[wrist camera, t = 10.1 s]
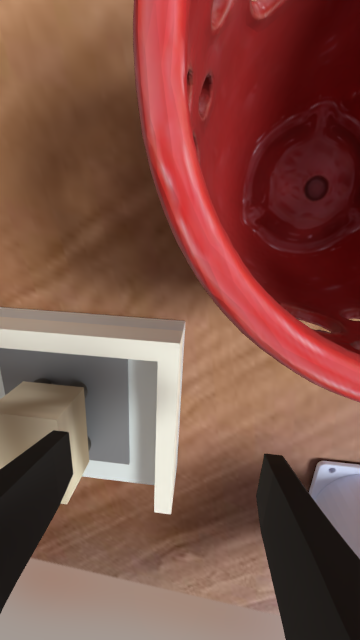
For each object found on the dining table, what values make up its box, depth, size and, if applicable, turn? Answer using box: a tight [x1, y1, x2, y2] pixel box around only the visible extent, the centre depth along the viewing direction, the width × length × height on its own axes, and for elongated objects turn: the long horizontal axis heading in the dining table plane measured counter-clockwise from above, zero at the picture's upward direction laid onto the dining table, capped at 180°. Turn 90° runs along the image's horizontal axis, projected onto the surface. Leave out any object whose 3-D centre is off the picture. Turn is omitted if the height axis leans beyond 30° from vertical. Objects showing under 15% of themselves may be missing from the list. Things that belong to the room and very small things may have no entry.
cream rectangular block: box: [0, 378, 91, 504], centre depth 16 cm, size 4×6×4 cm, turn 177°
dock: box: [0, 307, 185, 514], centre depth 18 cm, size 16×13×4 cm
